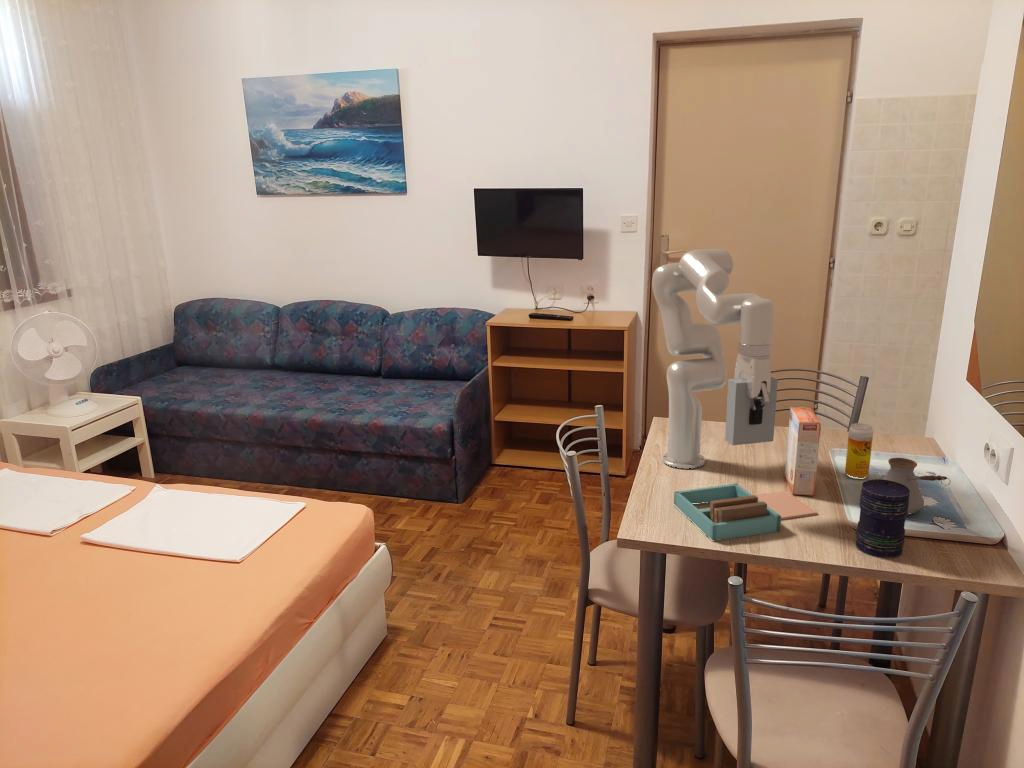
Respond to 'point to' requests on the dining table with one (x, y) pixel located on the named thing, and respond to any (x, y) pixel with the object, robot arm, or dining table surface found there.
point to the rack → (725, 528)
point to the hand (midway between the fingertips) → (750, 420)
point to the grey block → (740, 412)
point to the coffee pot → (909, 480)
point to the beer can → (859, 450)
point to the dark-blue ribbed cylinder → (882, 518)
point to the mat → (786, 505)
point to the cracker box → (802, 450)
